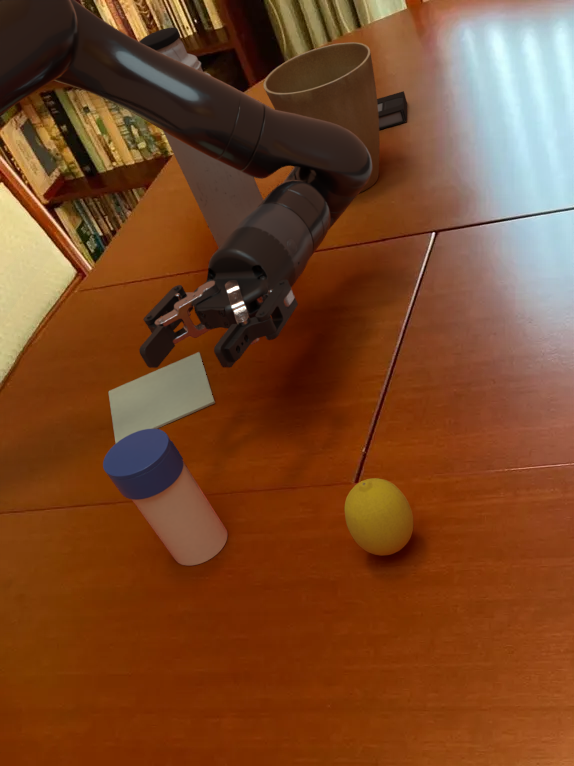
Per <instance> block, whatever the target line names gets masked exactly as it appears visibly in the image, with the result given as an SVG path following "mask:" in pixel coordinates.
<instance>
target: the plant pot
mask: <svg viewBox="0 0 574 766" xmlns="http://www.w3.org/2000/svg"><path fill="white" fill-rule="evenodd" d="M375 79H376V78H375V72H374V67H373V59H372V53H371V49H370V47H369V46H368V44H365V43H362V42H353V41H351V42H340V43H333V44H329V45H323V46H321V47H318V48H314V49H310V50H308V51H304V52H302V53H299V54H298V55H295V56H293V57H292V58H289V59H288V60H286V61H285V62H283V63H282V64H279V65H278V66H276V67H275V68H274V69H272V71H270V73H269V74H268V75H267V76H266V77H265V79H264V82H263V85H262V86H263V89H264V91H265V93H266V95H267V97H268V99H269V101H270V103H271V104H272V106H273V109H275V110H279V111H284V112H289V113H294V114H298V115H302V116H306V117H311V118H315V119H320V120H324V121H328V122H332V123H335V124H338V125H340V126H342V127H344V128H346V129H348V130H349V131H351V132H352V133H354V134H355V135H356V136H357V137H358V138H359V139H360V140H361V141H362V142H363V143H364V145H365V146H366V147H367V149H368V151H369V153H370V156H371V159H372V166H373V167H372V174H371V176H370V178H369V180H368V182H367V184H366V185H365V186H364V187H363V189H362V190H361V191H360V192H359V194H360V193H362V192H365V191H366V190H368V189H370V188H371V187H372V186H374V185H375V184H376V183H377V181H378V179H379V177H380V176H379V175H380V174H379V173H380V130H379V117H378V104H377V99H378V96H377V88H376V87H377V86H376V80H375Z"/></svg>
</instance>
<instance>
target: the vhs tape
mask: <svg viewBox="0 0 574 766" xmlns="http://www.w3.org/2000/svg"><path fill="white" fill-rule="evenodd" d="M377 104H378V117H379V131H380V130H383V129H387V128H390V127H395V126H397V125H400V124H404V123H407V122H408V101H407V98H406V94H405V91H400V92H399V91H398V92H396V93H392V94H389V95H386V96H383V97H379V98H377Z"/></svg>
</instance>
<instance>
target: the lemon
mask: <svg viewBox="0 0 574 766" xmlns="http://www.w3.org/2000/svg"><path fill="white" fill-rule="evenodd" d="M343 509H344V519H345V524H346V527H347V530H348V531H349V534H350V535H351V537H352V538H353V541H354V542H355V543H356V545H357V546H359V547H360V548H361V549H362V550H364V551H365V552H367V553H369V554H371V555H375V556H390V555H394V554H395V553H398V552H400V551H401V550H402V549H403V548H404V547H405V546H406V545H407V544H408V543H409V541H410V540H411V537H412V534H413V531H414V515H413V510H412V508H411V505H410V502H409V501H408V499H407V497H406V496H405V494H404V493H403V492H402V491H401V489H400V488H399V487H398V486H397V485H395V484H394V483H393V482H391V481H389V480H387V479H384V478H379V477H376V478H375V477H373V478H367V479H363V480H362V481H360V482H358V483H356V484H355V485H354V486H353V487H352V489H350V490H349V492H348V494H347V496H346V498H345V502H344V508H343Z"/></svg>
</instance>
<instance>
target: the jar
mask: <svg viewBox="0 0 574 766" xmlns="http://www.w3.org/2000/svg"><path fill="white" fill-rule="evenodd" d="M131 501H132V502H133V504H134V505H135V506H136V508H137V510H138V511H139V513H141V515H142V516H143V518H144V519H145V520H146V522H147V523H148V524H149V526H150V527H151V529H152V531H153V532H154V534H156V536H157V537H158V539H159V540H160V541H161V543H162V544H163V546H164V548H166V549H167V551H168V553H169V554H170V555H171V557H172V558H173V560H174V561H175V562H176V563H178V564H179V565H182V566H188V567H189V566H198V565H201V564H203V563H206V562H208V561H209V560H211V559H213V558H214V557H215V556H217V555H218V554H219V553H220V552H221V551H222V549H223V548H224V547H225V545H226V543H227V541H228V530H227V528H226V526H225V525H224V523H223V522H222V520H221V519H220V517H219V515H218V513H217V512H216V511H215V509H214V507H213V505H212V504H211V503H210V501H209V499H208V498H207V496H206V495H205V493H204V492H203V490H202V488H201V486H200V485H199V484H198V482H197V480H196V479H195V478H194V475H193V474H192V472H191V471H190V470H189V467H188V466H187V465H186V463H185V460H183V470H182V472H181V474H180V476H179V477H178V479H177V480H176V481H175V482H174V483H173V484H172V485H171V486H170V487H168V488H167V489H166V490H164V491H163V492H161V493H159V494H157V495H154V496H152V497H149V498H145V499H139V500H133V499H131Z"/></svg>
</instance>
